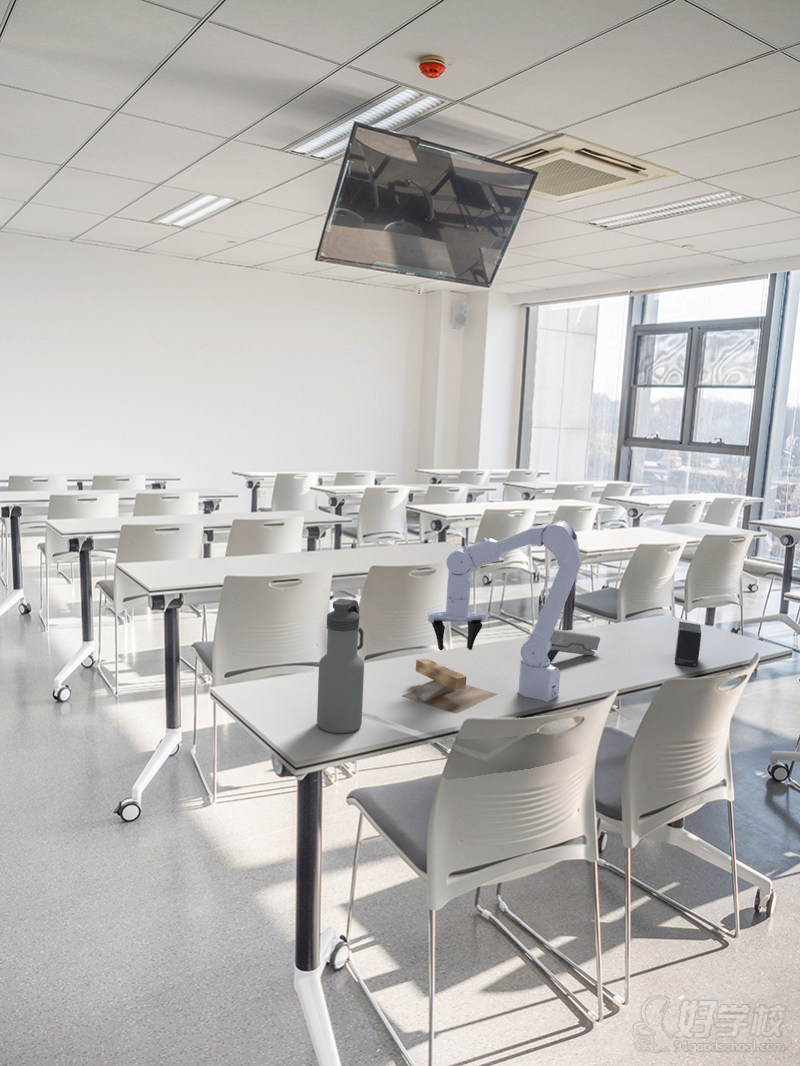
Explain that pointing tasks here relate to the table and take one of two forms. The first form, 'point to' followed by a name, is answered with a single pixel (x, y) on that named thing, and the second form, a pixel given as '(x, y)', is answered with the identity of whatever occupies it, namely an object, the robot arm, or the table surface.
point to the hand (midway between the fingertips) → (455, 649)
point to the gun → (572, 643)
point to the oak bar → (441, 674)
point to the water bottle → (341, 671)
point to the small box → (688, 644)
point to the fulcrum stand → (448, 696)
